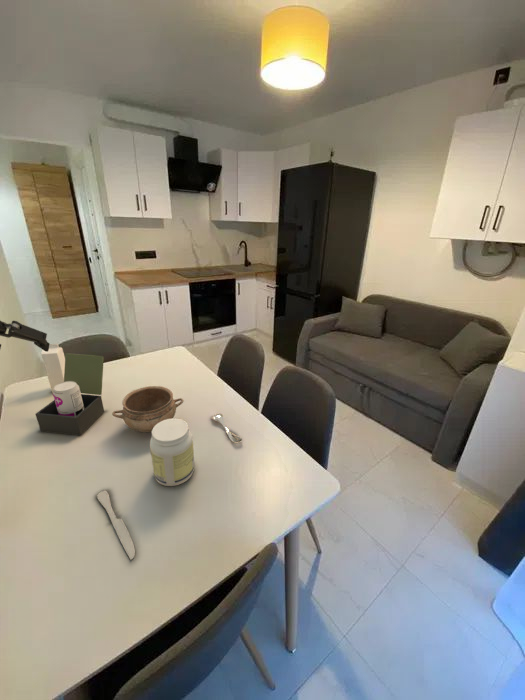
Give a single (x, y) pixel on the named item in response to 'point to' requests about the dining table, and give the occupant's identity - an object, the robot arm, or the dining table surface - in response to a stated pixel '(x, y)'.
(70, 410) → the supplement can
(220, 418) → the silver spoon
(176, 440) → the supplement tub
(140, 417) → the cooking pot
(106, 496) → the butter knife
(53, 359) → the milk
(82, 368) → the bin lid
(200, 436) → the dining table surface
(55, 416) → the bin
